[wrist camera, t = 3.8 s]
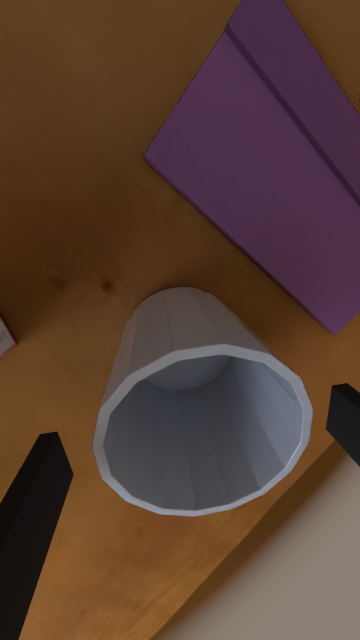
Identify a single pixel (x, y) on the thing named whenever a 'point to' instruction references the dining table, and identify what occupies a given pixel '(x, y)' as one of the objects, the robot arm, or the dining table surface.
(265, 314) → the dining table surface
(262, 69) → the plum cloth
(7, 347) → the cracker box
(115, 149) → the dining table surface
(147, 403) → the gray cup
